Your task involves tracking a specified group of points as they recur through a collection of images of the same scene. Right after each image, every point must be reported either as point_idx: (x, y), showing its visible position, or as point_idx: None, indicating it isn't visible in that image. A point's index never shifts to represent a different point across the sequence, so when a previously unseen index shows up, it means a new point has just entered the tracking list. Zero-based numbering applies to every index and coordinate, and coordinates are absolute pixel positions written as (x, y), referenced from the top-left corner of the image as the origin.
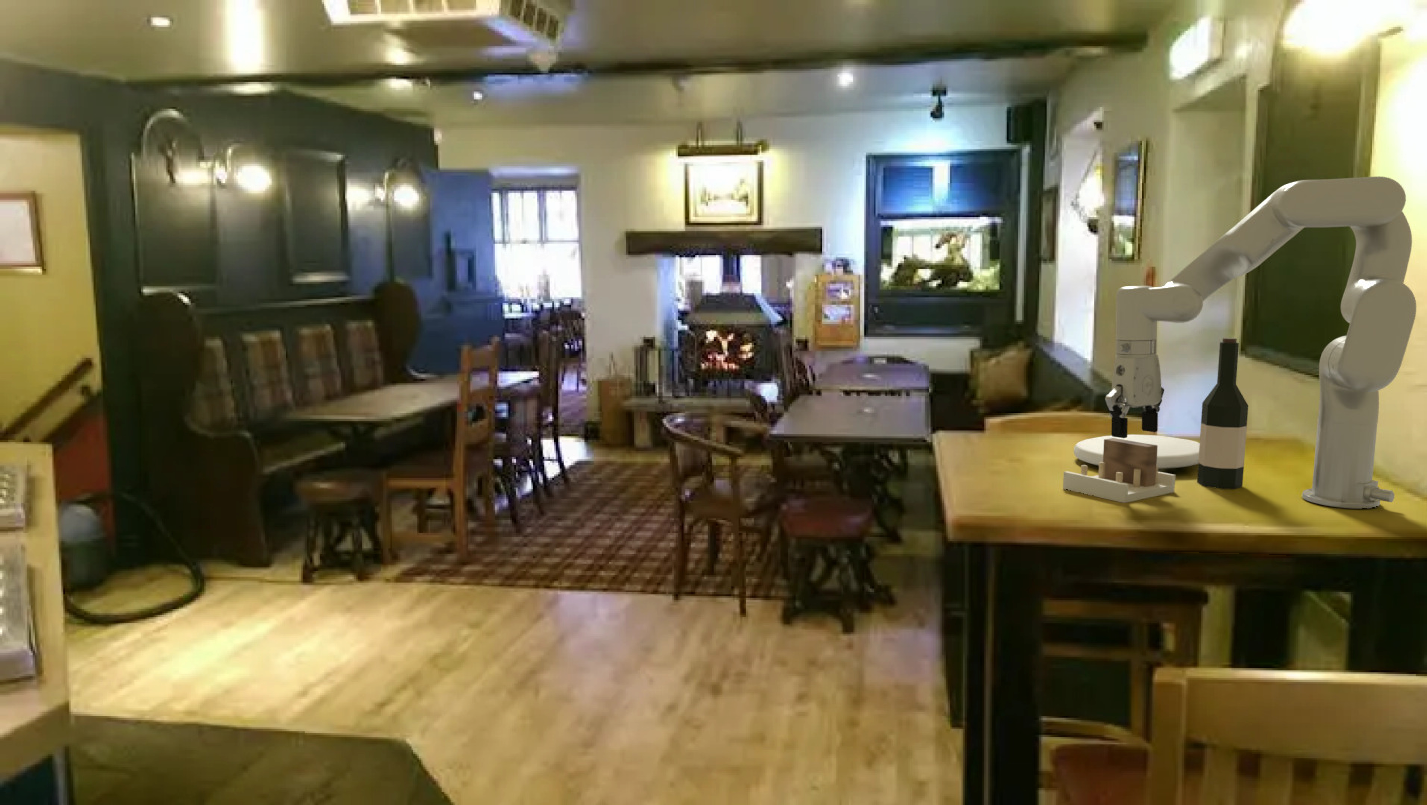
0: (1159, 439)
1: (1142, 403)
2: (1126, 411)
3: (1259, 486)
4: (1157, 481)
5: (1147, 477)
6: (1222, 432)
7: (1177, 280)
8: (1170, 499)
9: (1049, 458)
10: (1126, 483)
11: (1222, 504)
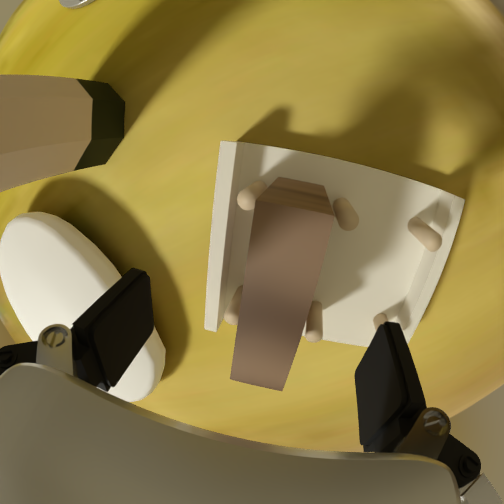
0: (31, 304)
1: (322, 478)
2: (415, 443)
3: None
4: (238, 188)
5: (319, 188)
6: (13, 96)
7: None
8: (326, 112)
9: (164, 409)
10: None
11: (276, 13)
